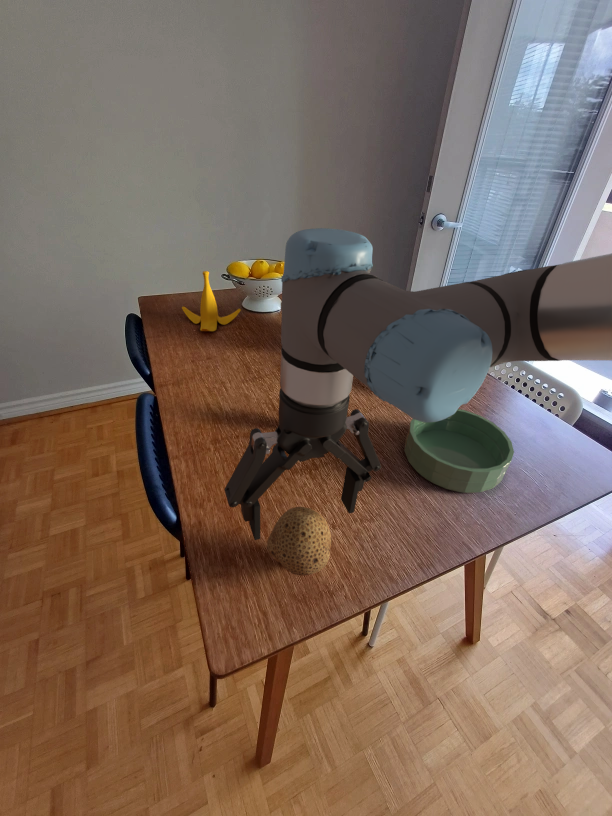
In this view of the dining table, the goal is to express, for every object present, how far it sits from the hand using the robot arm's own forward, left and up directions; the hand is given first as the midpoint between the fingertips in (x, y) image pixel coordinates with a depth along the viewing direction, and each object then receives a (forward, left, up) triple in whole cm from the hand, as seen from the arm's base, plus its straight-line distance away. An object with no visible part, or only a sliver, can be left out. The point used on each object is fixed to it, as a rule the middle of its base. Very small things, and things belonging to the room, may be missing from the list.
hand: (302, 518), depth 55 cm
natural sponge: (0, 0, -10) cm, 10 cm away
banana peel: (+87, -2, -10) cm, 87 cm away
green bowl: (+12, -38, -10) cm, 41 cm away
